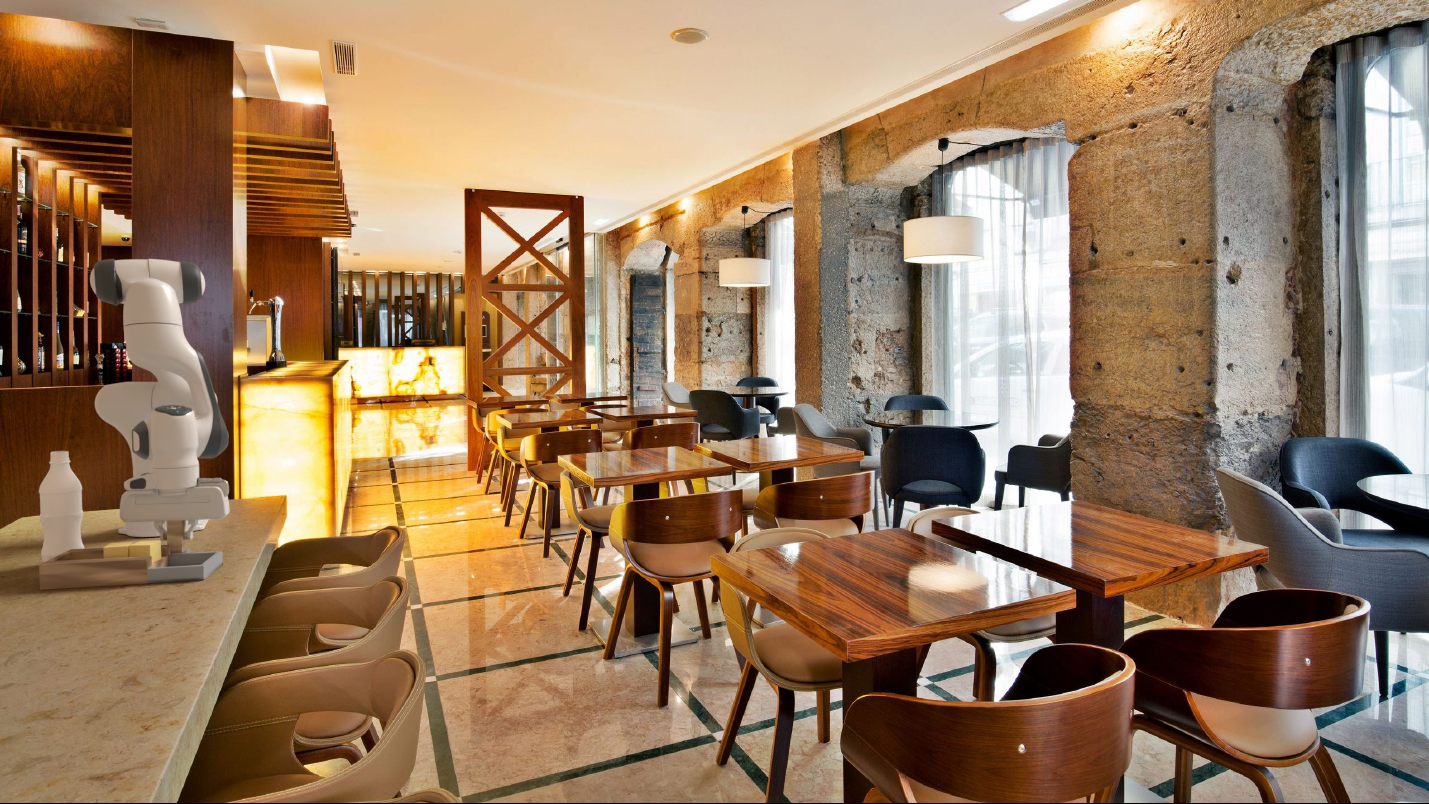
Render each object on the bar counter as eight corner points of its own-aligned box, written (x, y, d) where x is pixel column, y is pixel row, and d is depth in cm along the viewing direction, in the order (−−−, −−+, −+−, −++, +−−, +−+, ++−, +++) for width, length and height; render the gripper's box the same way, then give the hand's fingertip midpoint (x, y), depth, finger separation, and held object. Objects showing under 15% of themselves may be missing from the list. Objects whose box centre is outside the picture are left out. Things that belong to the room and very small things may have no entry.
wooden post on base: (174, 559, 172) (173, 513, 171) (190, 558, 173) (189, 513, 172) (164, 566, 166) (163, 519, 165) (180, 565, 167) (178, 518, 166)
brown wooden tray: (71, 572, 160) (70, 549, 160) (170, 567, 165) (169, 544, 165) (40, 589, 149) (39, 564, 148) (147, 583, 154) (146, 559, 154)
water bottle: (59, 570, 161) (55, 454, 160) (32, 568, 163) (28, 453, 161) (93, 561, 168) (89, 450, 167) (67, 559, 170) (63, 449, 168)
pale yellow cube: (140, 559, 161) (140, 540, 160) (161, 558, 161) (160, 540, 161) (129, 564, 157) (128, 545, 156) (150, 563, 157) (149, 545, 157)
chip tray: (170, 567, 165) (170, 553, 165) (222, 564, 168) (222, 551, 168) (147, 583, 154) (146, 568, 154) (203, 580, 157) (203, 565, 157)
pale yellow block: (110, 561, 158) (110, 542, 158) (133, 560, 160) (133, 541, 160) (104, 566, 155) (103, 547, 154) (127, 565, 156) (127, 546, 156)
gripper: (233, 475, 174) (234, 534, 175) (128, 477, 168) (130, 538, 169) (224, 479, 168) (225, 540, 169) (115, 482, 162) (117, 545, 163)
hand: (176, 539), depth 169 cm, fingers closed on wooden post on base, 3 cm apart
